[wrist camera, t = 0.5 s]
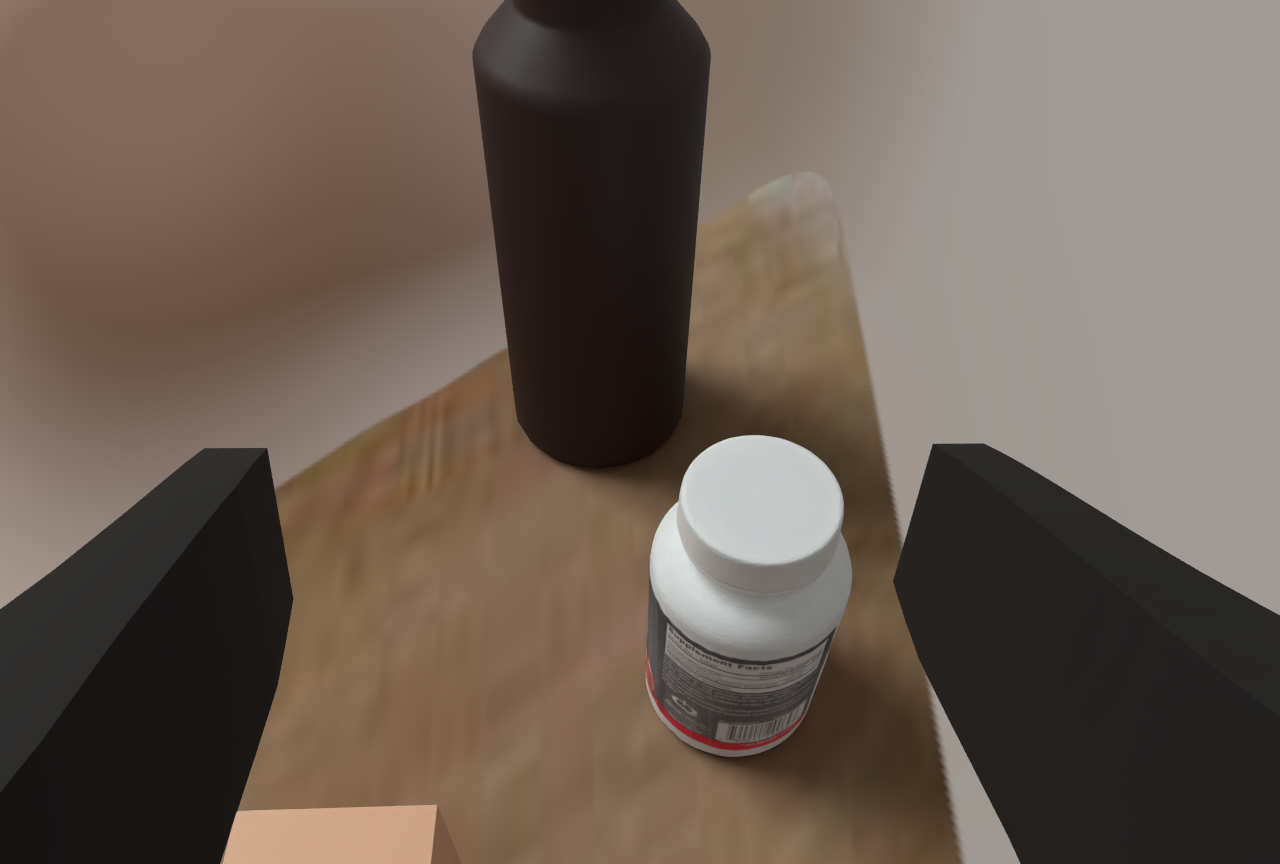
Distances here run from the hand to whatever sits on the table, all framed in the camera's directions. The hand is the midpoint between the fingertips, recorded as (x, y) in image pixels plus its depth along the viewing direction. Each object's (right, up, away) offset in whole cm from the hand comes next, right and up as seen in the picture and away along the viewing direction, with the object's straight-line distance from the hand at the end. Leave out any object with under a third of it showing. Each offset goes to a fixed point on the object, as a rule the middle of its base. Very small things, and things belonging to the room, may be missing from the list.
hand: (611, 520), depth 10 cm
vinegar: (-1, +2, +27) cm, 27 cm away
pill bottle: (+3, -7, +19) cm, 21 cm away
